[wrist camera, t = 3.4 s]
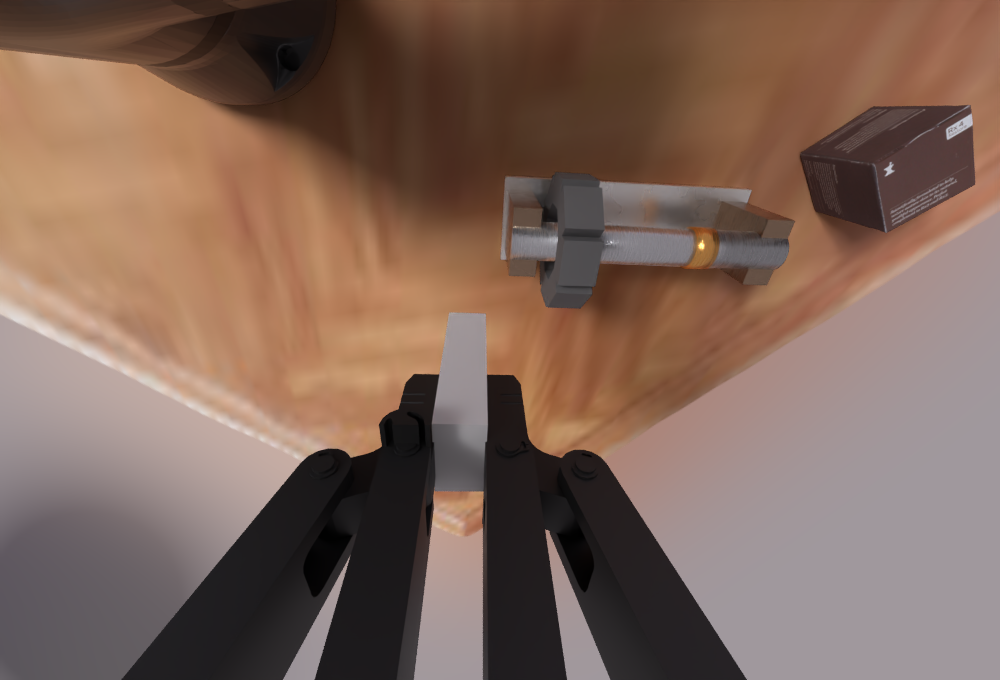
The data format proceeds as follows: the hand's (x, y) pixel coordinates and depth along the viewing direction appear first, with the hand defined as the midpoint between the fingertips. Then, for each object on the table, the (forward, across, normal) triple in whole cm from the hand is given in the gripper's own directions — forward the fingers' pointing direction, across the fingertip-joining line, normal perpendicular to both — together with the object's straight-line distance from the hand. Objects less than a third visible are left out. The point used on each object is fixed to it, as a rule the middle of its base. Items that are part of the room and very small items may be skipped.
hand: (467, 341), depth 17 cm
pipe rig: (+21, +13, 0) cm, 24 cm away
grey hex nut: (+19, +7, 0) cm, 20 cm away
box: (+21, +31, +6) cm, 38 cm away
